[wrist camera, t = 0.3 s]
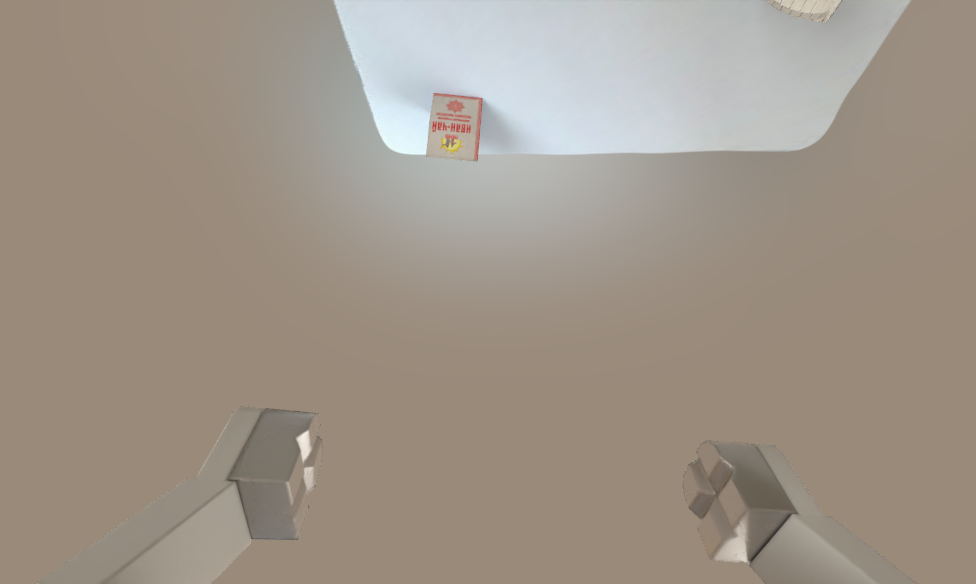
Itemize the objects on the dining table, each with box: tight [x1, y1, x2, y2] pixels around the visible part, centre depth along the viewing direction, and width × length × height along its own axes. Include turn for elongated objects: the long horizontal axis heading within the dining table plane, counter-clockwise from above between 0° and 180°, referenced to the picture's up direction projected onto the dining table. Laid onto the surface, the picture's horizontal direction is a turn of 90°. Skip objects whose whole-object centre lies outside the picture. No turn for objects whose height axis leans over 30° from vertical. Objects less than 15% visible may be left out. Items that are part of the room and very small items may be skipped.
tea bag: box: [426, 93, 482, 161], centre depth 64 cm, size 4×7×10 cm, turn 85°
